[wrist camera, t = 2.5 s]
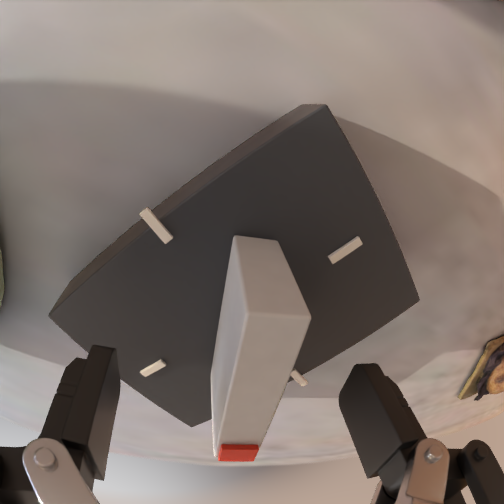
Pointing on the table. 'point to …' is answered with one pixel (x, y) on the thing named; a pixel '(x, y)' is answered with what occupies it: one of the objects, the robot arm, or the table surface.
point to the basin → (1, 279)
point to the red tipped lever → (254, 346)
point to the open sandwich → (487, 372)
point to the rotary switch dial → (218, 254)
